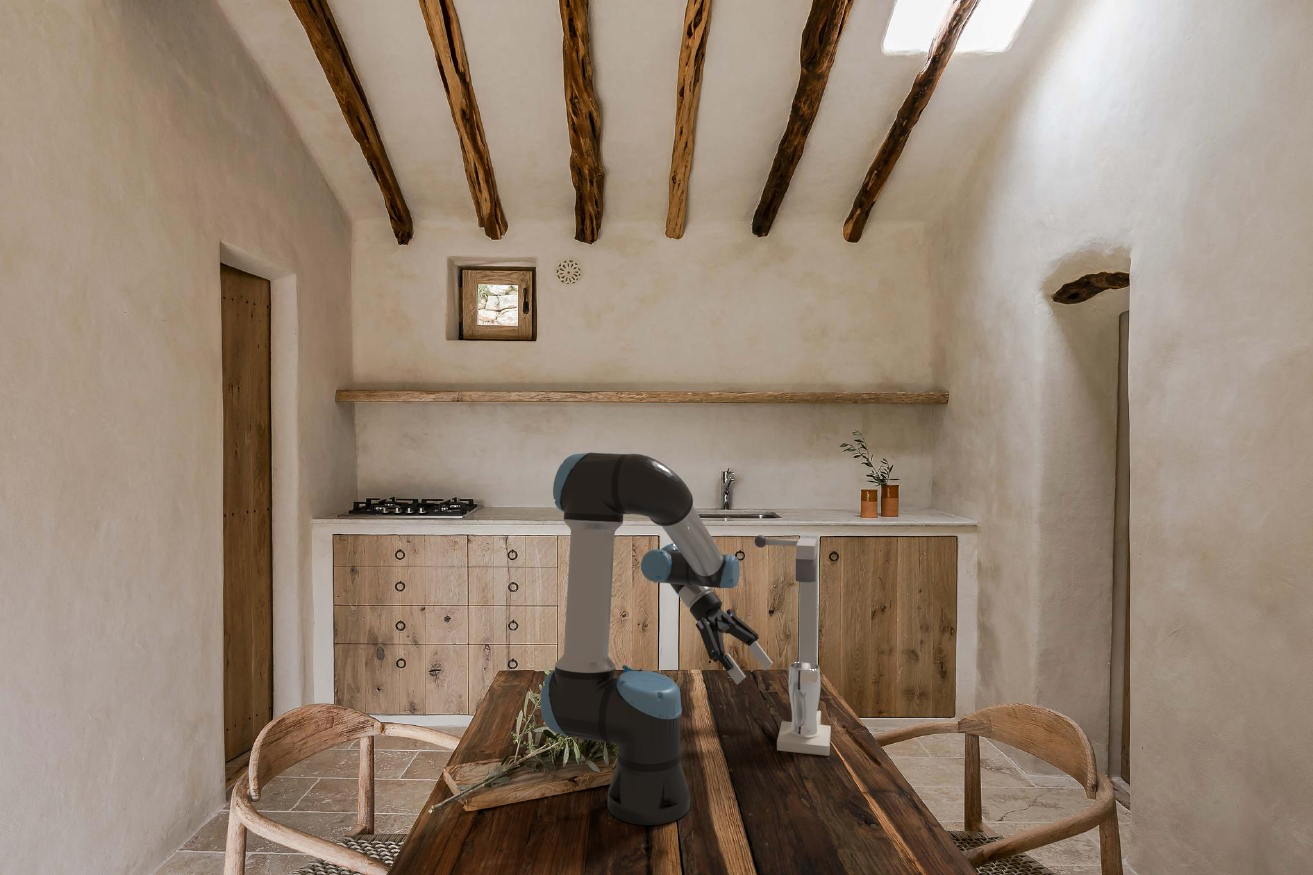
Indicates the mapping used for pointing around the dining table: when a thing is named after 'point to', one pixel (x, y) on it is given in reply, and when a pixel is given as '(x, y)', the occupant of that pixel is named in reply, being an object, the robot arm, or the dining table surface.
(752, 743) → the dining table surface
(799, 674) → the beer glass
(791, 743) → the stand
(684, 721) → the dining table surface
